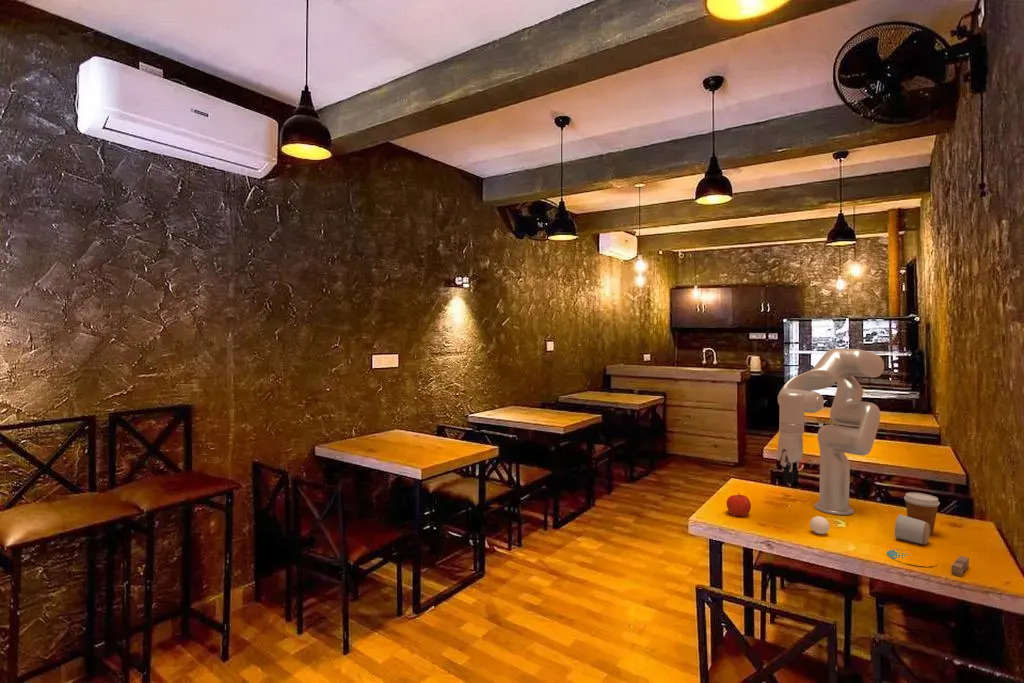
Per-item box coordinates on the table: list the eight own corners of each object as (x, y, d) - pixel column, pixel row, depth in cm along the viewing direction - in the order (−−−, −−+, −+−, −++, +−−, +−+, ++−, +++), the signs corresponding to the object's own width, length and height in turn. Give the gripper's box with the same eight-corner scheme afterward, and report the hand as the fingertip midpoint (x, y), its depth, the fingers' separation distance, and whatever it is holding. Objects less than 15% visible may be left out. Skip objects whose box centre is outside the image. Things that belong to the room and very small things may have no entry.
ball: (813, 529, 182) (814, 512, 182) (832, 534, 178) (832, 517, 178) (806, 533, 178) (807, 516, 178) (825, 538, 174) (825, 520, 174)
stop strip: (959, 564, 155) (959, 555, 155) (968, 566, 154) (968, 558, 154) (951, 574, 149) (951, 565, 149) (960, 576, 147) (960, 567, 147)
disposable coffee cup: (896, 528, 183) (897, 493, 183) (915, 525, 186) (916, 490, 186) (926, 539, 174) (927, 502, 174) (946, 535, 177) (946, 499, 177)
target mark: (893, 546, 167) (893, 546, 167) (942, 559, 158) (942, 559, 158) (881, 557, 160) (881, 556, 160) (931, 571, 151) (931, 570, 151)
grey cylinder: (925, 548, 167) (926, 523, 167) (893, 540, 173) (894, 516, 172) (932, 540, 174) (933, 516, 174) (901, 533, 180) (902, 509, 180)
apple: (755, 516, 194) (756, 494, 194) (739, 519, 191) (739, 497, 190) (737, 509, 201) (738, 488, 201) (721, 512, 198) (722, 491, 198)
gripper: (790, 424, 193) (789, 475, 193) (769, 429, 182) (768, 483, 182) (812, 427, 187) (811, 480, 187) (792, 432, 176) (791, 488, 177)
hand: (790, 481), depth 185 cm, fingers open, 3 cm apart
